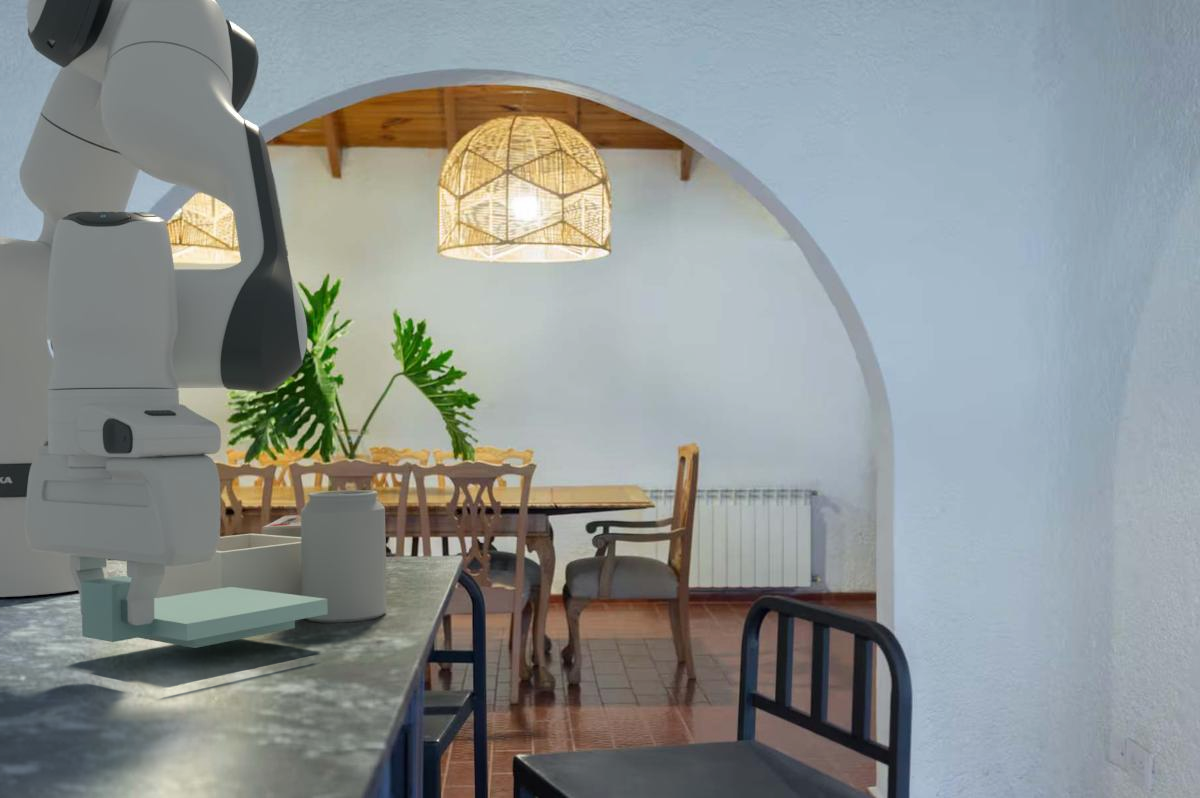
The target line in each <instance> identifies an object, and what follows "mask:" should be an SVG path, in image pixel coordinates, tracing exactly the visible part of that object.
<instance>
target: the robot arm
mask: <svg viewBox="0 0 1200 798" xmlns="http://www.w3.org/2000/svg"><path fill="white" fill-rule="evenodd" d="M26 17H27V19H26V20H27V26H28V27H27V35H28V37H29V39H30V42H31V44H32V46H33V47H34V50H36V52H38V53H39V54H40V55H42V56H44V57H45V58H46V59H48V60H50V61H51V62H53V63H55V64H56V65H58V66H59V67H61V68H60V69H59V71H58V73H57V75H56V77H55V79H54V81H53V82H52V85H51V87H50V89H49V92H48V93H47V96H46V99H45V100H44V104H43V105H42V108H41V111H40V113H39V116H38V120H37V121H36V125H35V128H34V130H33V132H32V136H31V138H30V140H29V142H28V146H27V147H26V148H27V149H26V151H25V154H24V156H23V159H22V162H21V165H20V167H19V174H18V175H19V182H20V185H21V187H22V189H23V192H24V194H25V195H26V197H27V198H28V199H29V200H30V202H31V203H32V204H33V205H34V206H35V207H36V208H37V209H38V210H39V211H40V212H42V213H43V223H42V224H43V225H42V230H41V233H40V235H39V237H38V238H37V239H36V240H29V239H28V240H27V239H20V238H19V239H18V238H13V237H7V236H5V237H4V236H0V598H7V597H26V596H39V595H50V594H61V593H68V592H75V591H78V593H79V594H80V595H79V600H80V601H79V602H80V603H79V604H80V607H79V608H80V615H81V616H82V581H88V580H95V579H103V578H110V577H118V571H117V569H116V568H114V569H113V568H109V562H108V560H109V561H110V560H111V561H118V562H126V576H128V577H132V579H131V583H130V587H129V591H128V595H127V599H123V600H121V612H122V613H121V620H122V622H123V623H125V624H130V625H135V626H137V625H143V624H149V623H151V622H152V621H153V620H154V598H155V597H156V595H157V592H158V590H159V587H160V585H161V582H162V580H163V577H164V575H165V566H171V567H172V566H183V565H192V564H199V563H205V562H209V561H210V560H211V559H212V558H213V556H214V554H215V552H216V550H217V548H218V545H219V540H220V537H221V514H222V513H221V511H222V508H221V483H220V474H219V470H218V469H219V468H218V466H217V463H216V462H215V461H214V459H212V458H211V457H210V456H208V455H215V454H217V453H218V452H220V450H221V444H222V435H221V434H222V432H221V428H220V427H219V425H218V424H217V423H215V421H213V420H210V419H208V418H206V417H204V416H202V415H200V414H198V413H197V412H195V411H193V410H192V409H190V408H189V407H188V406H186V405H184V404H181V403H180V399H179V398H180V397H179V392H180V391H179V389H211V388H212V389H215V388H216V389H220V388H222V389H223V388H226V389H227V390H230V391H231V390H234V391H244V392H245V391H247V392H248V391H249V392H263V393H270V392H271V391H274V390H275V389H276V388H278V387H279V386H281V385H282V384H283V383H285V382H286V381H287V380H288V379H289V378H290V377H292V376H293V375H294V374H295V373H297V371H298V370H299V369H300V368H301V367H302V366H303V364H304V363H303V360H304V358H305V354H306V351H307V347H308V345H307V343H308V324H307V319H306V318H307V317H306V312H305V309H304V305H303V303H302V299H301V297H300V294H299V292H298V290H297V286H296V284H295V282H294V279H293V276H292V274H291V269H290V268H291V267H290V263H289V253H288V252H289V250H288V248H287V247H288V245H287V239H286V234H285V233H286V232H285V229H284V228H285V227H284V223H283V222H284V221H283V217H282V211H281V205H280V201H279V193H278V189H277V188H278V187H277V184H276V179H275V176H274V173H273V168H272V163H271V159H270V152H269V149H268V145H267V144H266V140H265V137H264V136H263V133H262V132H261V130H260V127H259V126H257V125H256V124H253V123H252V122H250V121H249V120H247V119H245V118H243V117H242V116H241V115H240V114H239V113H240V111H241V110H242V108H244V105H245V104H246V102H247V101H248V100H249V98H250V96H251V95H252V94H253V91H254V88H255V84H256V81H257V77H258V67H259V63H260V62H259V61H260V60H259V51H258V49H257V46H256V45H257V44H256V42H255V39H253V38H252V37H251V36H250V35H249V34H248V33H247V31H245V30H243V28H241V27H239V26H238V25H236V24H235V23H234V22H231V21H230V20H228V19H226V17H225V14H224V13H223V9H221V7H220V5H219V4H218V2H217V1H216V0H28V1H27V6H26ZM140 171H141V172H142V173H145V174H147V175H148V176H150V177H152V178H155V179H157V180H160V181H162V182H165V183H169V184H173V185H177V186H180V187H183V188H187V189H190V190H194V191H196V192H199V193H201V194H204V195H207V196H209V197H212V198H213V199H215V200H217V201H219V202H221V203H223V204H225V205H226V206H227V207H228V208H230V209H231V211H232V212H233V217H234V224H235V228H236V229H235V231H236V237H237V242H238V243H237V244H238V249H239V250H238V251H239V256H240V262H238V263H237V264H234V265H232V266H230V267H226V268H219V269H211V268H209V269H206V268H205V269H198V268H197V269H195V268H193V269H186V268H185V269H179V268H177V269H176V268H175V264H174V257H173V251H172V245H171V238H170V232H169V228H168V225H167V223H166V222H167V221H166V220H164V219H163V218H161V217H159V216H157V215H156V214H154V213H149V212H143V211H141V212H136V211H126V208H127V206H128V203H129V199H130V196H131V193H132V190H133V189H134V186H135V182H136V180H137V177H138V175H139V172H140ZM48 341H50V347H51V350H52V352H51V350H50V347H49V343H48ZM52 353H53V355H52Z"/></svg>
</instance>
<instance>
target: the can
mask: <svg viewBox="0 0 1200 798" xmlns="http://www.w3.org/2000/svg"><path fill="white" fill-rule="evenodd" d="M378 494H379V493H378V491H376V490H372V489H371V490H369V489H368V490H364V489H363V490H362V489H360V490H359V489H356V490H355V489H351V490H350V489H349V490H348V489H345V490H327V491H325V490H324V491H315V492H310V493H309V492H308V493H307V496H308V498H309V500H308V502H306V504H305V505H304V507H302V508H301V510H300V515H301V554H302V596H308V597H316V598H324V599H327V607H328V614H325V615H320V616H315V617H310V618H305V619H306V620H307V621H311V622H316V623H331V624H332V623H352V622H353V623H354V622H360V621H361V622H362V621H368V620H372V619H377V618H379V617H381V616H383V615H384V614H385V613H386V612H387V608H388V607H387V598H386V587H387V543H385V537H386V507H385V506H384V505H383V504H382V503H381V501H379V499H378V498H377V495H378Z"/></svg>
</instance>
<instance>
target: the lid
mask: <svg viewBox="0 0 1200 798" xmlns="http://www.w3.org/2000/svg"><path fill="white" fill-rule="evenodd" d="M131 579H132V577H128V576H127V575H120V576H119V575H117V577H110V578H103V579H95V580H88V581H82V615H81V622H82V623H81V625H82V629H81V632H82V637H83V638H87V639H88V638H90V639H93V640H99V641H104V642H109V643H115V642H120V641H125V640H126V641H127V640H132V639H136V638H138V639H142V640H147V641H148V640H149V641H154V642H158V643H159V642H161V643H165V644H172V645H176V646H180V647H181V646H182V647H188V648H194V649H195V648H196V649H197V648H200V647H201V648H203V647H206V646H212V645H217V644H222V643H226V642H233V641H238V640H243V639H246V638H252V637H257V636H262V635H266V634H267V635H268V634H272V633H277V632H278V633H279V632H282V631H286V630H287V631H288V630H293V629H296V626H295V625H296V621H299V620H303V619H306V618H310V617H315V616H320V615H325V614H328V607H327V599H324V598H316V597H308V596H300V595H292V594H284V593H276V592H268V591H260V590H252V589H244V588H236V587H227V588H220V589H214V590H207V591H201V592H194V593H188V594H181V595H175V596H168V597H162V598H155V599H154V620H153V621H152V622H151V623H149V624H143V625H137V626H135V625H130V624H125V623H123V622H122V620H121V613H122V612H121V600H123V599H127V595H128V591H129V587H130V583H131Z"/></svg>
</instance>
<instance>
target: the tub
mask: <svg viewBox="0 0 1200 798" xmlns="http://www.w3.org/2000/svg"><path fill="white" fill-rule="evenodd" d="M227 587H236V588H244V589H252V590H260V591H268V592H276V593H284V594H292V595H300V596H302V554H301V537H291V536H278V535H265V534H262V533H245V534H243V533H242V534H235V535H225V536H220V540H219V545H218V548H217V550H216V552H215V554H214V556H213V558H212V559H211V560H210V561H209V562H205V563H199V564H192V565H183V566H172V567H171V566H165V575H164V577H163V580H162V582H161V585H160V587H159V590H158V592H157V595H156V597H155V598H162V597H168V596H175V595H181V594H188V593H194V592H201V591H207V590H214V589H220V588H227ZM155 598H154V599H155Z"/></svg>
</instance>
